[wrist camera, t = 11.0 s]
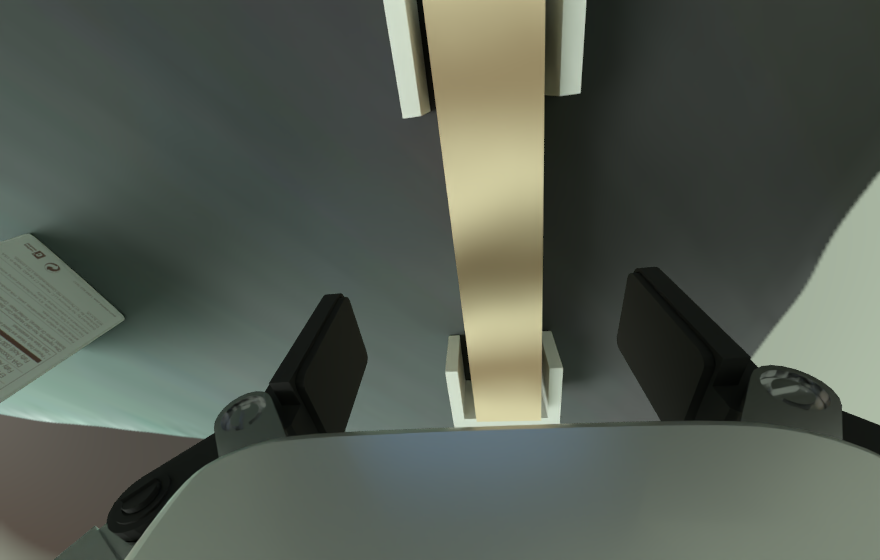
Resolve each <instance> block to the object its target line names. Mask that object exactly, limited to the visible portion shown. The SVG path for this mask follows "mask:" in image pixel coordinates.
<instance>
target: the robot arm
mask: <svg viewBox="0 0 880 560" xmlns="http://www.w3.org/2000/svg"><path fill="white" fill-rule="evenodd" d="M617 344H618V347H619V349H620V351H621V353H622V355H623V356H624V358H625V360H626V362H627V363H628V365H629V367H630V368H631V370H632V372H633V374H634V375H635V377H636V379H637V381H638V382H639V384H640V386H641V387H642V389H643V391H644V393H645V394H646V396H647V398H648V399H649V401H650V403H651V405H652V406H653V408H654V410H655V412H656V413H657V415H658V417H659V418H660V420H661V421H640V422H606V423H572V424H540V425H510V426H482V427H454V428H428V429H404V430H379V431H358V432H345V429H346V426H347V423H348V420H349V417H350V414H351V411H352V408H353V405H354V401H355V398H356V395H357V392H358V389H359V386H360V383H361V380H362V377H363V374H364V371H365V368H366V365H367V360H368V357H367V352H366V349H365V346H364V343H363V340H362V337H361V334H360V331H359V327H358V324H357V321H356V318H355V315H354V312H353V309H352V306H351V303H350V300H349V298H348V297H344V296H343V294H341V293H340V294H328V295H324V296H323V298H322V299H321V301H320V303H319V304H318V306H317V307H316V309H315V311H314V312H313V314H312V315H311V317H310V319H309V320H308V322H307V323H306V325H305V327H304V328H303V330H302V331H301V333H300V335H299V336H298V338H297V339H296V341H295V343H294V344H293V346H292V347H291V349H290V351H289V352H288V354H287V355H286V357H285V359H284V360H283V362H282V363H281V365H280V367H279V368H278V370H277V371H276V373H275V374H274V376H273V378H272V379H271V381H270V382H269V386H268V388H267V389H266V391H265V392H260V391H255V392H251V393H247V394H245V395H242V396H240V397H238V398H237V399H235V400H234V401H232V402H231V403H229V404H228V405H227V406H226V407H225V408H224V409H223V410H222V411H221V412H220V414H219V415H218V417H217V419H216V421H215V425H214V431H215V433H214V434H212V435H210V436H209V437H207V438H206V439H204V440H202V441H201V442H199V443H197V444H196V445H194V446H193V447H191V448H189V449H188V450H186V451H184V452H183V453H181V454H179V455H178V456H176V457H175V458H173V459H171V460H170V461H168V462H166V463H165V464H163V465H161V466H160V467H158V468H157V469H155V470H153V471H152V472H150V473H148V474H147V475H145V476H143V477H142V478H141V479H139V480H138V481H136V482H135V483H134V484H132V485H131V486H130V487H129V488H128V489H127V490H126V491H125V492H124V493H122V495H121V496H120V497H119V498H118V500H117V501H116V502H115V503H114V505H113V507H112V508H111V510H110V512H109V514H108V519H107V523H106V524H105V525H104V526H103V527H101V528H100V529H98V528H97V527H96V526H94V527H93V528H91V529H90V530H89V531H88V532H87V533H85V534H84V535H83V536H82V537H81V538H79V539H78V540H77V541H76V542H75V543H73V544H72V545H71V546H70V547H68V548H67V549H66V550H65V551H64V552H63V553H61V554H60V555H59V556H58V557H56V558H55V559H54V560H880V425H878V424H875V423H873V422H870V421H867V420H865V419H862V418H860V417H857V416H854V415H852V414H849V413H847V412H844V411H842V404H841V401H840V398H839V397H838V396H837V394H836V393H835V392H834V391H833V390H832V389H831V388H830V387H828V386H827V385H826V384H825V383H823V382H822V381H820V380H818V379H816V378H815V377H813V376H811V375H809V374H806V373H804V372H801V371H799V370H796V369H792V368H787V367H783V366H775V365H769V366H761V367H759V368H758V367H757V366H756V365H755V364H754V363H753V362H752V361H751V360H750V358H751V357H750V356H749V355H748V354H747V353H746V352H745V351H744V350H743V349H742V348H741V347H740V346H739V345H738V344H737V343H736V342H735V341H734V340H733V339H732V338H730V337H729V336H728V335H727V334H726V333H725V332H724V331H723V330H722V329H721V328H720V327H719V326H718V325H717V324H716V323H715V322H714V321H713V320H712V319H711V318H710V317H709V316H708V315H707V314H706V313H705V312H704V311H703V310H702V309H701V308H700V307H699V306H697V305H696V304H695V303H694V302H693V301H692V300H691V299H690V298H689V297H688V296H687V295H686V294H685V293H684V292H683V291H682V290H681V289H680V288H679V287H678V286H677V285H676V284H675V283H674V282H673V281H672V280H671V279H670V278H669V277H668V276H667V275H665V274H664V273H663V272H662V271H661V270H660V269H659V268H658V267H647V268H637V269H635V271H634V273H630V274H629V276H628V279H627V285H626V290H625V296H624V301H623V307H622V312H621V318H620V323H619V329H618V334H617Z"/></svg>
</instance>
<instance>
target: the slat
mask: <svg viewBox="0 0 880 560" xmlns="http://www.w3.org/2000/svg"><path fill="white" fill-rule="evenodd" d="M422 1H423V8H424V16H425V24H426V32H427V40H428V47H429V55H430V63H431V71H432V78H433V86H434V94H435V102H436V109H437V117H438V125H439V133H440V141H441V148H442V156H443V164H444V172H445V179H446V187H447V195H448V203H449V211H450V218H451V226H452V234H453V242H454V249H455V257H456V265H457V273H458V280H459V288H460V296H461V304H462V312H463V319H464V327H465V335H466V343H467V350H468V358H469V366H470V374H471V381H472V389H473V397H474V405H475V413H476V420H477V422H494V421H541V384H542V286H543V187H544V89H545V0H422Z"/></svg>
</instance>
